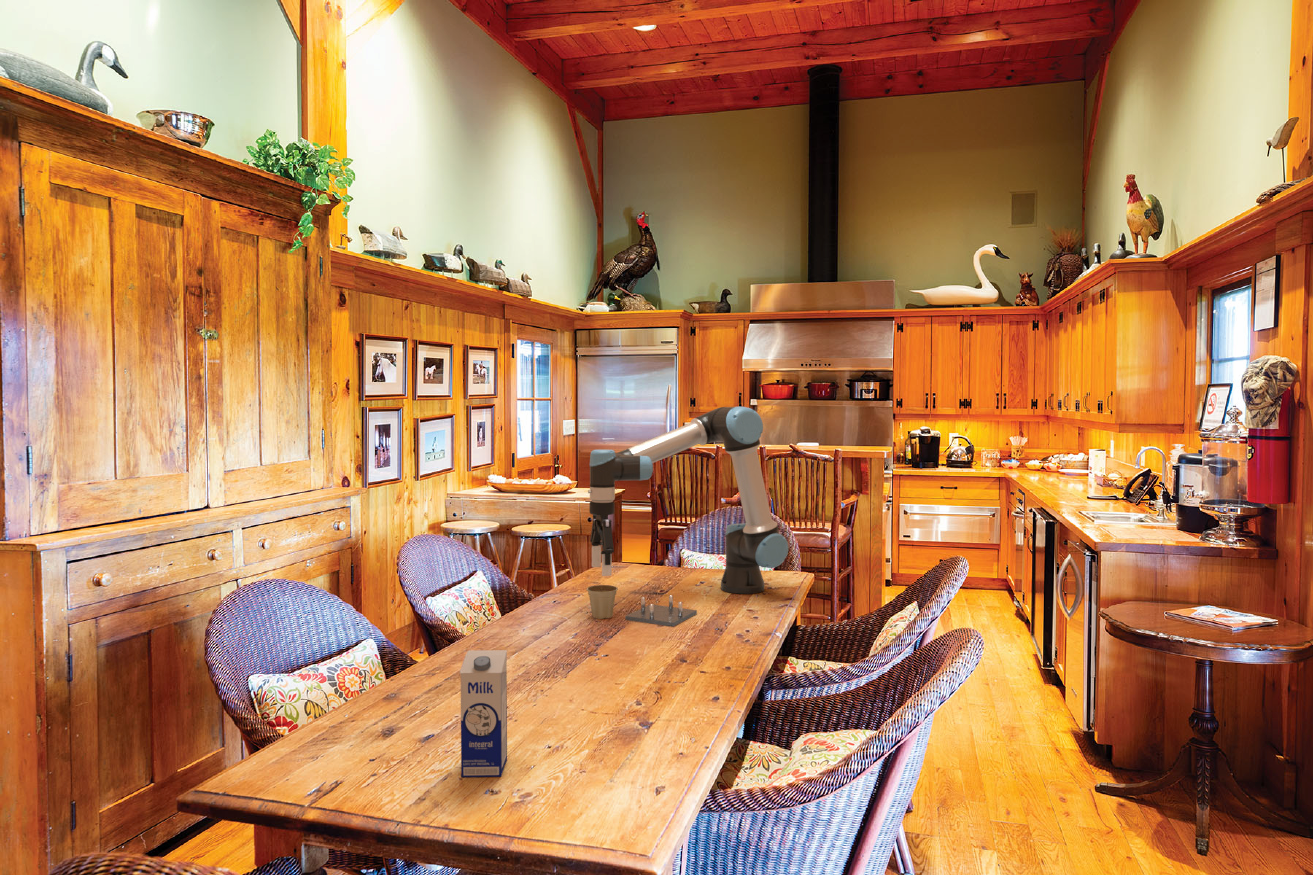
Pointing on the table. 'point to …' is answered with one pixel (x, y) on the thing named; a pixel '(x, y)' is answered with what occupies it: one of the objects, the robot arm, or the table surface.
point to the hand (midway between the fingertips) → (601, 571)
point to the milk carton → (484, 713)
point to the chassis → (661, 614)
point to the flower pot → (602, 600)
